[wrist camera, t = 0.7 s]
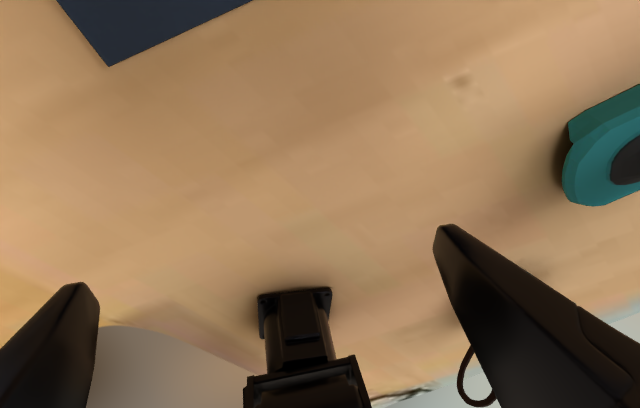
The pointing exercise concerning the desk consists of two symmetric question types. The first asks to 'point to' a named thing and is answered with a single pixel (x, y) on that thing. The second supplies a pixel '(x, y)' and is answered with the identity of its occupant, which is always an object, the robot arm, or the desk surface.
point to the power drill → (604, 151)
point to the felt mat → (139, 22)
